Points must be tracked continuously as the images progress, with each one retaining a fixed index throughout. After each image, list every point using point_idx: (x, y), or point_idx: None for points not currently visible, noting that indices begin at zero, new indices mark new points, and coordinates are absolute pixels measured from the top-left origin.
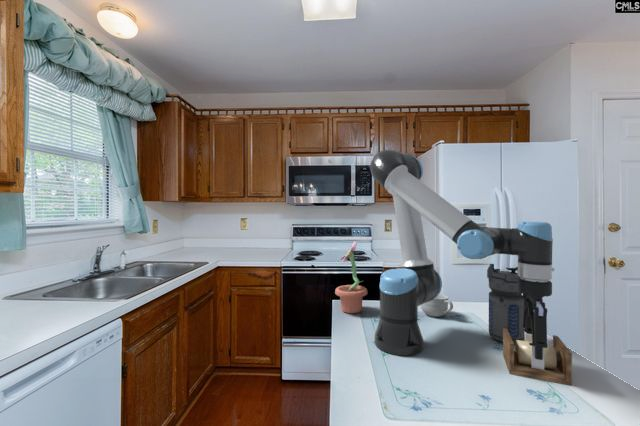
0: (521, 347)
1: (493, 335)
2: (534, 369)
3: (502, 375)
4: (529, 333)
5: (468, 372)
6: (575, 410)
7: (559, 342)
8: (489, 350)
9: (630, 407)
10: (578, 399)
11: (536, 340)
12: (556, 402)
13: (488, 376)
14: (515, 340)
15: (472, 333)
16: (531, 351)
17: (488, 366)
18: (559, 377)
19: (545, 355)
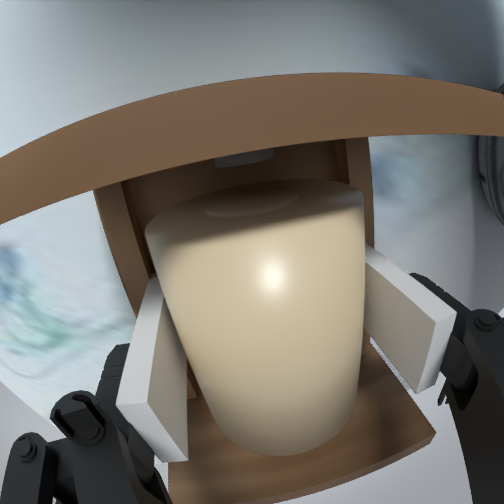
0: (175, 270)
1: (500, 91)
2: (135, 294)
3: (54, 125)
4: (448, 349)
5: (16, 3)
6: (17, 370)
7: (326, 483)
8: (370, 40)
9: (157, 461)
10: (86, 390)
11: (9, 487)
12: (10, 333)
13: (13, 76)
14: (492, 190)
15: (489, 21)
16: (134, 350)
17: (122, 38)
18: None
19: (207, 398)
